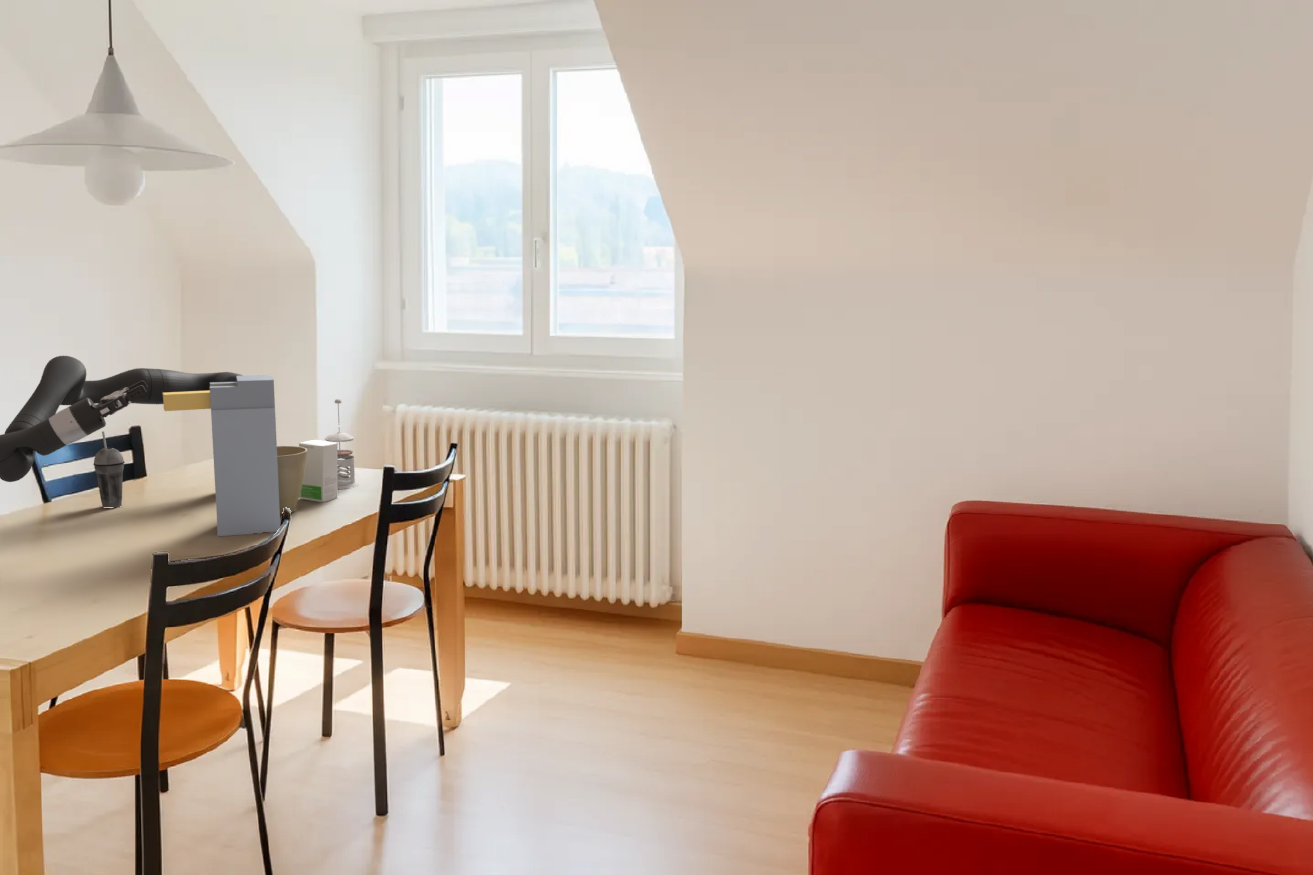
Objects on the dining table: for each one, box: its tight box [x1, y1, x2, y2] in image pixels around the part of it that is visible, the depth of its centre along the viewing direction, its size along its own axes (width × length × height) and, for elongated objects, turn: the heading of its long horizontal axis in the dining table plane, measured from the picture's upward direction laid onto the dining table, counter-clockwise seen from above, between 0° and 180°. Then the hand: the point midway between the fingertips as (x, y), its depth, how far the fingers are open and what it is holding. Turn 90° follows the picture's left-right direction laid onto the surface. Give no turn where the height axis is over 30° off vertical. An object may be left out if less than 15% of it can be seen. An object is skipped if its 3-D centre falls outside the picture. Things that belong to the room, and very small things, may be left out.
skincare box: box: [298, 439, 339, 503], centre depth 298 cm, size 8×7×16 cm
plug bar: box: [162, 390, 211, 412], centre depth 260 cm, size 24×4×4 cm, turn 117°
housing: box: [210, 374, 281, 537], centre depth 264 cm, size 14×11×37 cm
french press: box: [324, 398, 359, 490], centre depth 314 cm, size 10×12×25 cm
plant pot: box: [277, 445, 307, 515], centre depth 283 cm, size 15×15×16 cm
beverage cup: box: [93, 431, 125, 508], centre depth 285 cm, size 7×7×20 cm
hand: (145, 386), depth 253 cm, fingers open, 8 cm apart
